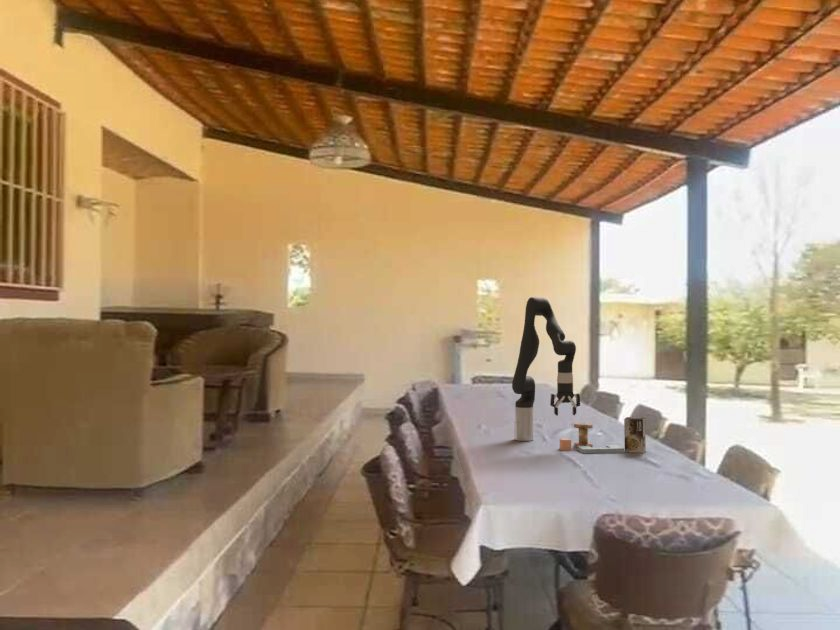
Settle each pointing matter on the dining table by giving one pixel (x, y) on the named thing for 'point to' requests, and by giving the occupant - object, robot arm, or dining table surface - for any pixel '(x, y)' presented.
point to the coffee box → (634, 434)
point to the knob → (583, 434)
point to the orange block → (565, 444)
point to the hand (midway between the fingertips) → (565, 415)
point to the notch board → (601, 449)
